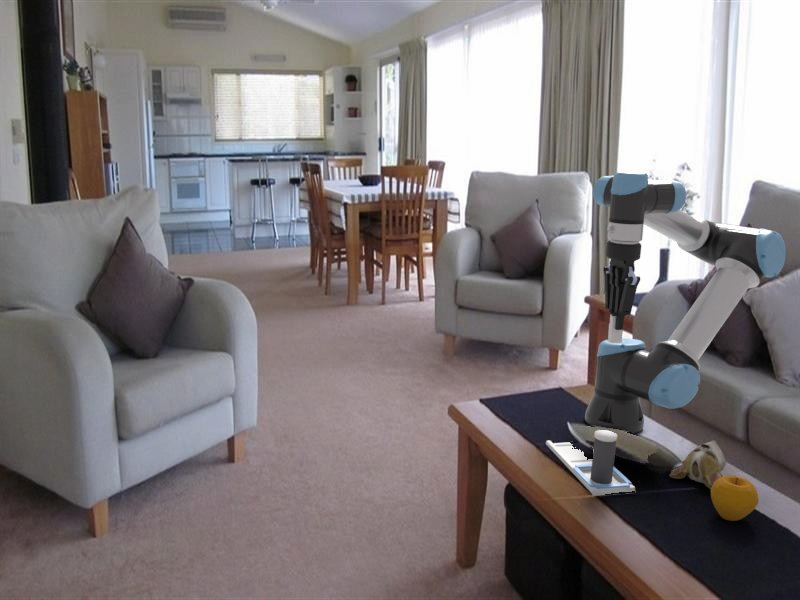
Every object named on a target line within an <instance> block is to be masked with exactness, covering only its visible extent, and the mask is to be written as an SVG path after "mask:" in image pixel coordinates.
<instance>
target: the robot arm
mask: <svg viewBox="0 0 800 600" xmlns="http://www.w3.org/2000/svg"><path fill="white" fill-rule="evenodd" d="M592 198H593V200H594V202H595V203H596V204H597V205H598V206H602V207H605V208H609V216H608V217H609V218H608V226H607V228H606V230H607V239H608V240H607V242H606V249H605V257H606V258H607V259H610V261H609V266H603V269H602V270H603V275H604V298H605V299H604V300H605V301H604V302H605V303H604V304H605V309H606V310H608V313H609V314H610V315H609V316H610V317H609V326H608V336H607V338H608V339H604V340H603V341H601V342H600V343H599V345H598V350H597V354H596V363H595V377H594V389H593V390H594V391H593V394H592V397H591V399H590V401H589V403H588V405H587V408H586V410H585V414H584V415H585V416H584V420H585V423H586V424H588V425H589V424H591V425H596V426H601V427H606V428H613V429H619V430H625V431H629V432H633V434H637V433H639V432H641V431H642V430H644V426H645V425H644V423H645V417H644V414H643V410H642V405H641V404H642V403H641V399H643V400H645V401H648V402H650V403H653V404H654V405H656V406H658V407H663V408H665V409H666V408H667V409H670V410H674V409H680V408H683V407H684V406H686V405H687V404H689V403H690V402H691V401H692V400H694V397H695V396H696V395H697V393H698V391H699V385H700V384H701V377H700V376H701V375H700V370H701V366H700V363H699V360H700V358H701V357H702V356H703V354H704V352H705V351H706V349H707V348H708V347H709V346H710V344H711V342H713V339H714V338H715V337H716V335H717V334H718V332H719V331H720V329H721V328H722V327H723V325H724V324H725V322H726V321H727V320H728V318H729V317H730V316H731V314H732V313H733V311H734V310H735V308H736V307H737V305H738V303H739V302H740V301H741V300H742V298H743V297H744V296H745V294H746V292H747V290H748V289H755V288H757V287H758V286H759V285H760V283H761V282H762V280H763V279H764V278H767V279H769V278H774V277H776V276H778V275H779V274H780V273H781V271H782V270H783V267H784V265H785V261H786V254H787V253H786V244H785V241H784V239H783V237H782V235H781V233H779V232H777V231H775V230H770V229H767V228H763V227H762V228H756V227H749V226H743V225H735V224H731V223H722V222H715V221H710V220H707V219H705V218H703V217H701V216H692V215H690V214H688V213H687V212H685V211H683V210H681V209H683V207H684V205H685V203H686V199H687V192H686V189H685V187H684V185H683V184H682V183H681V182H680V181H677V180H671V179H664V180H661V179H660V180H658V179H649V175H648V173H646V172H643V171H642V172H641V171H617V172H616V173H614V175H604V176H601V177H599V178H598V179H597V180H596V182H595V183H594V185H593V189H592ZM644 226H646V227H649V229H652V230H654V231H656V232H657V233H659V234H661V235H663V236H664V237H667V238H669V239H671V240H672V241H674V242H676V243H677V246H678V247H679V248H680V249H681V250H683V251H685V252H686V253H688V254H690V255H692V256H694V257H696V258H697V259H699V260H701V261H703V262H705V263H707V264H708V265H711V266H714V267H715V269H716V271H715V273H714V274H713V276H712V277H711V279H710V280H709V281H708V283H707V284H706V286H705V287H704V288H703V290H702V291H701V293H700V294H699V295H698V297H697V298H696V300H695V301H694V303H693V304H692V305H691V307H690V308H689V310H688V311H687V313H686V314H685V315H684V317H683V318H682V320H681V321H680V322H679V324H678V325H677V327H676V328H675V330H674V331H673V332H672V333H671V334H670V337H669V338H668V339H667V340H666V341H665V340H664V341H659V342H658V343H657V344H656V345H655V346H654V348H653V349H652V351H651V352H650V351H648V350H646V349H647V346H646V344H645V341H643V340H640V339H636V338H623V331H624V323H625V321H624V320H625V317H626V316H630V315H631V313H632V309H633V305H634V303H635V302H634V301H635V297H636V294H637V293H636V292H637V289H638V286H639V284H640V282H641V277H640V276H639V275H637V276H636V273H635V272H636V271H635V270H636V267H635V262H636V261H639V260H640V259H641V254H642V243H640V242H642V241H643V235H644V233H643V232H644ZM591 425H590V426H591Z"/></svg>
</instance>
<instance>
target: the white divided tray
mask: <svg viewBox="0 0 800 600" xmlns="http://www.w3.org/2000/svg"><path fill="white" fill-rule="evenodd" d="M570 442H571V441H570ZM570 442H554V443H553V442H552V440H546V441H545V445H546V447H548V448H549V449H550V451H551V452H552V453H553V454H554V455H555V456H556V457H557V458H558V460H560V461H561V462H562V463H563V464H564V466H566V468H567V469H568V470H569V471H570V472H571V473H572V474H573V475H574V476H575V477H576V478H577V480H579V482H580V483H581V484H582V485H583V486H584V487H585V488H586V489H587V490H588V491H589V492H590V493H591V494H590V496H591V497H597V496H606V495H605V494H611V493H619V492H632V491H635V492H636V487H635V485H633V484H632V482H631V481H630V480H629V478H628V477H626V476H625V475H624V474H623V473H622V472H621V471H620V470H618V468H616V467H615V466H614V467H613V476H612V482H611V483H609V484H599V483H596V482H594V481H592V480H591V469H592V459H588V460H587V457H585V456H584V452H583V451H582V452H581V450H580V449H579V450H578V449H574V447H573V446H572V445H573V444H571V443H570ZM572 448H573V449H572ZM575 448H576V447H575Z"/></svg>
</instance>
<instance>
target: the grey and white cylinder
mask: <svg viewBox="0 0 800 600" xmlns="http://www.w3.org/2000/svg"><path fill="white" fill-rule="evenodd" d="M617 440H618V433H614V432H612V431H609V430H600V429H597V430H595V431H594V441H593V459H592V469H591V480H592V481H594V482H596V483H599V484H609V483H611V482H612V476H613V467H615V465H614V464H615V457H616V456H615V455H616V447H617Z"/></svg>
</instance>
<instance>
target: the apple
mask: <svg viewBox="0 0 800 600" xmlns="http://www.w3.org/2000/svg"><path fill="white" fill-rule="evenodd" d="M722 476H723V475H722ZM710 498H711V502H712V504H713V507H714V509H715V510H716V511H717V513H718V514H719V516H720V517H721V518H722V519H724V520H726V521H730V522H735V521H740V520H743V519H744V518H745V517H747V516H749V514H751V513H753V512H754V510H755V509H756V508H757V506H758V505H759V493H758V490H757V488H756V487H755V485H754V484H753V483H752V482H751V481H750V480H748V479H747V478H744V477H742V476H737V475H724V476H723V477H720V478H718V479H717V480H716V481H715V482H714V483H713V486H712V488H711V489H710Z"/></svg>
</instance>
